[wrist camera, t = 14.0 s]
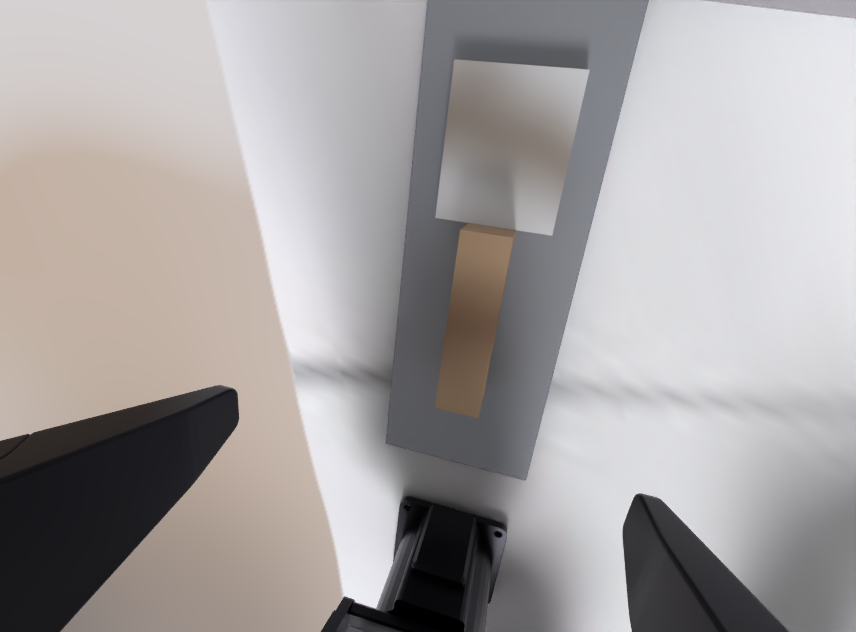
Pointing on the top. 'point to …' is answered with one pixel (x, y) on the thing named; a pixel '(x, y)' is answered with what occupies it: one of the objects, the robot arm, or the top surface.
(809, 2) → the tile
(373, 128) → the top surface
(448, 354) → the turner
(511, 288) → the mat
